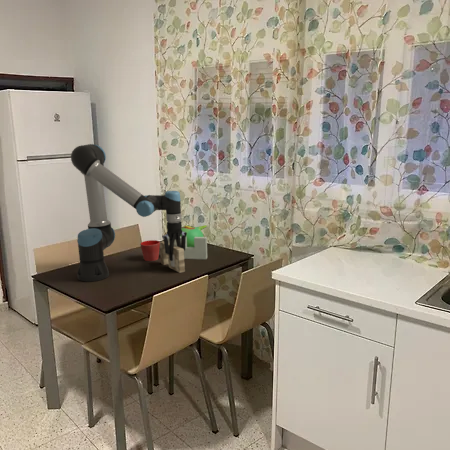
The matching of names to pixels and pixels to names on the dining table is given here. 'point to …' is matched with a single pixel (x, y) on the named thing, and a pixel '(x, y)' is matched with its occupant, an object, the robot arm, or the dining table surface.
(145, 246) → the flower pot
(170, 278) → the dining table surface
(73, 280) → the dining table surface
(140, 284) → the dining table surface
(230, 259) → the dining table surface
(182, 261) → the birch slotted plate
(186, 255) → the sage slotted rail
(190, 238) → the green rounded piece
